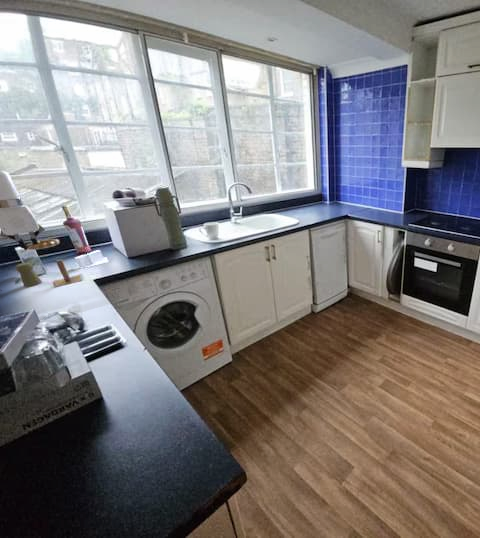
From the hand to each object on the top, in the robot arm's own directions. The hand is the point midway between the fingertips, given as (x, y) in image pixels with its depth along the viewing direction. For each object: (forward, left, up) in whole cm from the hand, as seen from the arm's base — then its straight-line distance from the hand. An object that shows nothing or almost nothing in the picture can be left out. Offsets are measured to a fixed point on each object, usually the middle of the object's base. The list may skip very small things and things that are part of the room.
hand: (31, 248), depth 121 cm
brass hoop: (+4, 0, +1) cm, 4 cm away
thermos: (+57, +19, -19) cm, 63 cm away
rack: (+6, +3, -19) cm, 20 cm away
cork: (-6, +11, -19) cm, 23 cm away
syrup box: (-4, +30, -19) cm, 36 cm away
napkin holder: (+16, +28, -19) cm, 38 cm away
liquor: (+16, +54, -19) cm, 60 cm away
